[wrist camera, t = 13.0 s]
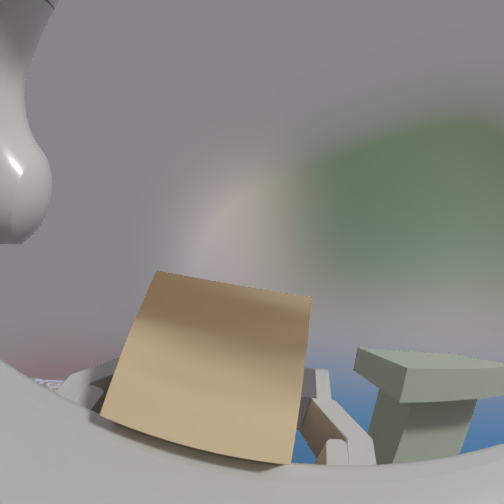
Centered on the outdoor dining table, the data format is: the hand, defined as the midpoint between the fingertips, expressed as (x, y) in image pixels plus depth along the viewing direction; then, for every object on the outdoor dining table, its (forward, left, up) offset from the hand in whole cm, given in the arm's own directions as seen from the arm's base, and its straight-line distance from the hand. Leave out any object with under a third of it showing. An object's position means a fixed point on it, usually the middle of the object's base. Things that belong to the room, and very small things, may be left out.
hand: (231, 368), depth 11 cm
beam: (-3, +3, -7) cm, 8 cm away
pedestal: (+4, +16, -26) cm, 31 cm away
